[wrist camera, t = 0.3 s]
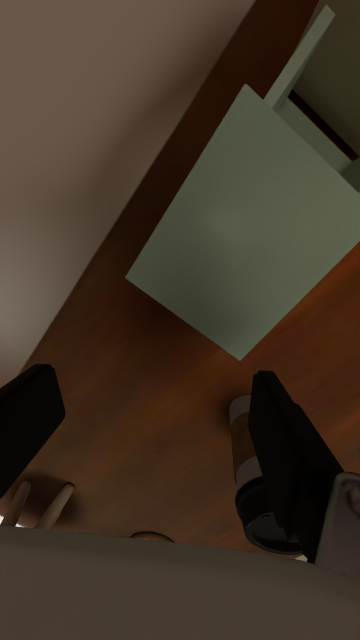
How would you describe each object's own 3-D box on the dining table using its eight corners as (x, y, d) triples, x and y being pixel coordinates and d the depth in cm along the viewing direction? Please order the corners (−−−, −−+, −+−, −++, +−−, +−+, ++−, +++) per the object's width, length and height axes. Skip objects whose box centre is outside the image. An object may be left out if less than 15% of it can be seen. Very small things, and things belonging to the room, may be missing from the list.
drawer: (329, 4, 16) (438, -197, 9) (418, 104, 18) (572, 1, 11) (198, 203, 22) (199, 178, 14) (274, 266, 23) (310, 273, 16)
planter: (1, 472, 42) (-196, 695, 21) (65, 460, 39) (-89, 705, 18) (41, 519, 46) (-88, 740, 25) (101, 511, 44) (11, 754, 23)
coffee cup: (254, 378, 29) (306, 494, 15) (286, 413, 31) (360, 548, 17) (210, 405, 32) (220, 528, 18) (242, 437, 33) (274, 573, 19)
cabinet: (224, 155, 21) (245, 81, 12) (309, 230, 23) (384, 216, 14) (150, 268, 25) (124, 278, 16) (225, 324, 27) (239, 361, 18)
